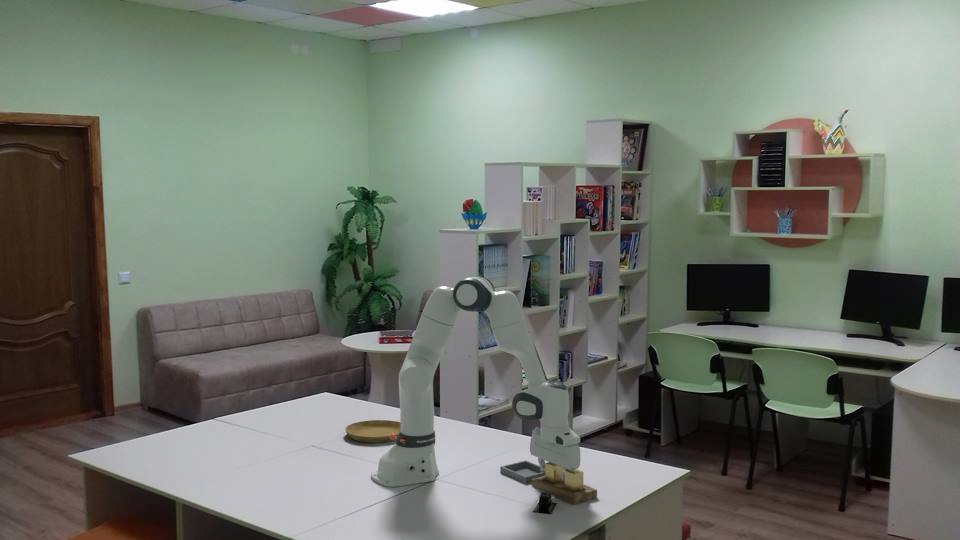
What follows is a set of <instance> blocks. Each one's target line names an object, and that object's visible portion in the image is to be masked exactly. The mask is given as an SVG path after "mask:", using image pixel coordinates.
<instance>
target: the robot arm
mask: <svg viewBox="0 0 960 540" xmlns="http://www.w3.org/2000/svg"><path fill="white" fill-rule="evenodd" d="M462 310H463V311H465V312H472V313H473V312H474V313H475V312H477V313H485V314H486V315H487V317H488V320H489V323H490V328H491V331H492V334H493V335H492V336H493V338H494V341H495V343H496V345H497V347H498V348H499V349H500V350H502V351H503V352H505V353H507V354H510V355H513V356H514V357H516V358H517V359H518V361H519V362H520V364H521V366H522V370H523V372H524V375H525V377H526V381H527V384H528V386H527V388H525V389H523V390H520V391H519V392H518V393H516V394H515V395H514V396H513V398H512V399H511V408H512V411H513V413H514V415H515V416H516V417H517V419H519V420H522V421H540V426H536V427H534V428H533V429H532V431H531V432H532V433H531V434H532V435H531V438H530V441H529V442H530V444H529V452H530V454H531V456H533V457H536V458H537V461H538V462H537V463H538V465H539V466H540V471H541V472H543V473H545V464H546V462H551V463H553V464H556V465H558V466H561V467H563V474H561V475H560V477H561V478H560V479H561V480H563V481H565V471H566V470H575V469H578V470H579V468H580V467H581V466H580V465H581V448H580V446H579V444H580V443H581V437H580V436H579V435H578V434H577V433H576V432H575V431H573V430H572V429H571V428H570V422H569V418H568V415H569V413H570V397H569V394H570V393H569V389H568V387H567V386H566V385H565V384H564V383H563V382H561V381H558V380H549V379H548V377H547V375H546V372H545V369H544V366H543V364H542V361H541V358H540V356H539V353H538V350H537V348H536V345H535V343H534V341H533V340H532V337H531V334H530V333H529V330H528V324H527V322H526V319H525V315H524V312H523V309H522V306H521V304H520V303H519V300H518V298H517V296H516V294H515V293H514V292H512V291H510V290H506V289H505V290H499V291H496V290H495V287H494V285H493V283H492V282H491V280H489V279H488V278H486V277H484V276H477V275H475V276H473V275H472V276H468V277H465V278H462V279H460V280H459V281H458V282H457V283H456V284H455V286H454V288H453V287H450V286H446V285H441V286H440V285H439V286H437V287H435V288H434V289H433V291H432V293H431V294H430V296H429V297H428V299H427V301H426V304H425V306H424V308H423V311H422V313H421V315H420V318H419V321H418V324H417V325H416V329H415V332H414V334H413V336H412V338H411V342H410V343H409V344H410V345H409V348H408V349H407V352H406V356H405V357H404V361H403V363H402V365H401V368H400V370H399V373H398V395H399V397H398V398H399V411H400V413H399V414H400V415H399V417H400V418H399V420H400V421H399V422H400V432H399V434H398V436H397V435H395V434H393V433H392V434H391V435H390V439H391V440H394V441H395V444H394V445H392V447H391V448H389V450H387V452H385V453H384V454H383V455H382V456H381V457H380V458H379V461H378V466H377V471H374V472H371V474H370V475H371V476H370V477H371V480H372V481H373V482H375V483H376V484H379V485H381V486H385V487H387V488H388V487H389V488H390V487H391V488H397V487H402V486H408V485H409V486H410V485H415V484H421V483H426V482H427V483H429V482H434V481H436V478H437V476H438V475H439V474H440V471H439V468H438V464H437V459H436V458H437V457H436V449H435V445H436V431H435V406H434V403H435V402H434V376H435V374H436V371H437V369H438V367H439V364H440V361H441V358H442V357H443V354H444V352H445V349H446V346H447V344H448V341H449V338H450V336H451V334H452V331H453V329H454V325H455V323H456V320H457V317H458V316H459V314H460V313H461V311H462ZM394 441H393V442H394Z"/></svg>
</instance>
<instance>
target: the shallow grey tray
mask: <svg viewBox="0 0 960 540" xmlns="http://www.w3.org/2000/svg"><path fill="white" fill-rule="evenodd" d="M499 468H500V472H499V473H500V474H502V475H505V476H507V477H510V478H512V479H514V480H516V481H519V482H521V483H523V484H525V485H526V484H529V483H532V479H535V478H538V477H542V476H545V473H543V472H541V471H540V464H536V463H533V462H531V461H528V460H522V461H518V462H513V463H510V464H505V465H501V466H500V467H499Z"/></svg>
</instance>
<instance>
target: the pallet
mask: <svg viewBox="0 0 960 540" xmlns="http://www.w3.org/2000/svg"><path fill="white" fill-rule="evenodd" d="M531 487H534V488H536V489H539V490H541V491H542V492H548V493H551V496H553V497H554V498H557V499H559V500H561V501H564V502H565V503H568V504H569V505H573V506H574V505H578V504H581V503H584V502H587V501H591V500H594V498H595V499H597V498H598V489H597V488H594V487H591V486H589V485H586V484H584V483H583V491H579V492H576V493H572V492H570V491H567V490H565V481H563V482H562V483H558V484H554V485H553V484H551V483H548V482H546V481H545V476H542V477H538V478H535V479H532V482H531Z"/></svg>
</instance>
